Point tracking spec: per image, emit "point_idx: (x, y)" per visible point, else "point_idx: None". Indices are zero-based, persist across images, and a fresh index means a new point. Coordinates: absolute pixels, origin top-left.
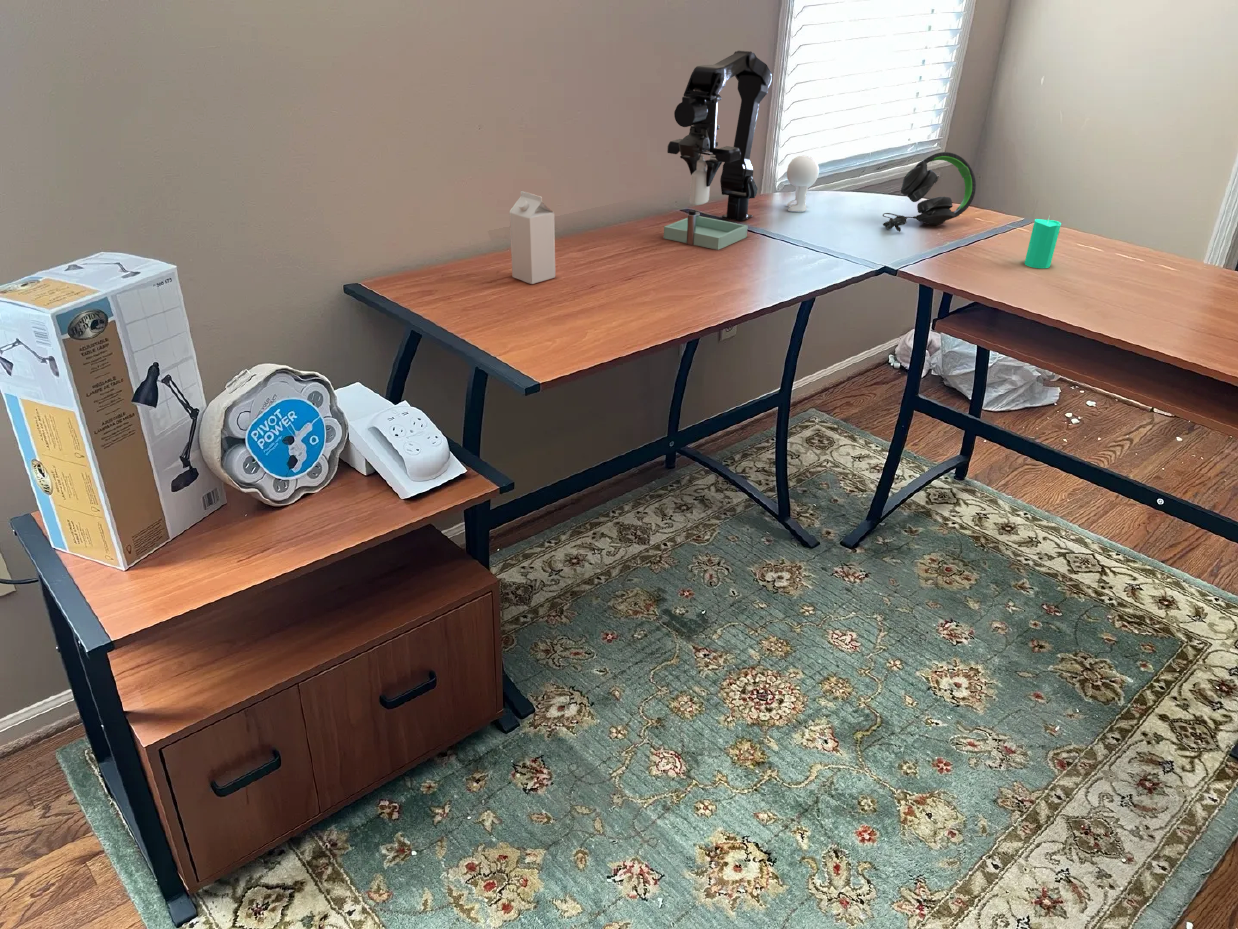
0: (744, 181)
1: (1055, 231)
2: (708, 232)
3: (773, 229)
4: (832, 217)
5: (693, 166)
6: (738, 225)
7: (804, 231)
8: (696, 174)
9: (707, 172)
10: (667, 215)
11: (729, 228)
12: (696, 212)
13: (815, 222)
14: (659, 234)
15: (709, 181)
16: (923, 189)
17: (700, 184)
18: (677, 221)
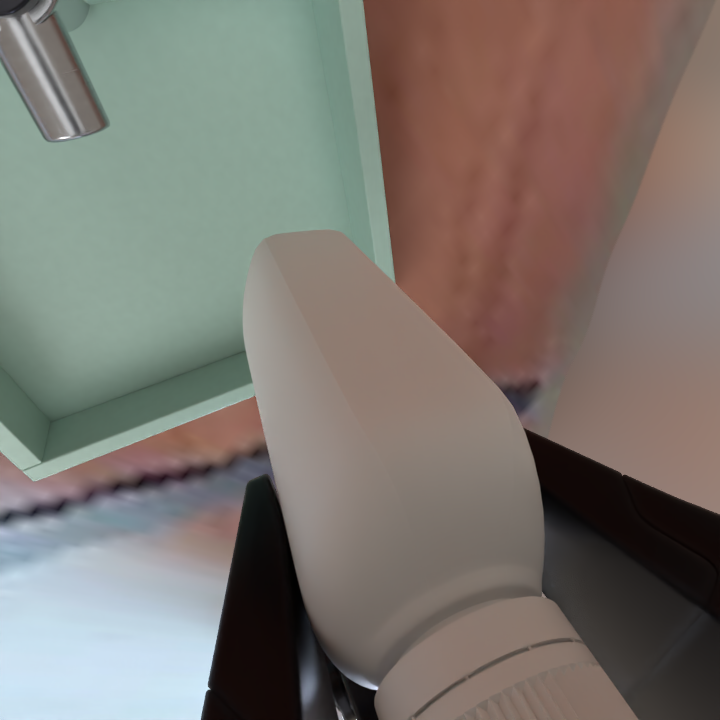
0: (344, 679)
1: None
2: (209, 287)
3: (124, 562)
4: (161, 711)
5: (645, 587)
6: (84, 443)
7: (30, 643)
8: (412, 487)
9: (279, 692)
10: (547, 309)
11: (147, 399)
12: (49, 90)
13: (135, 677)
14: (401, 4)
15: (241, 554)
16: None
17: (280, 412)
18: (378, 155)
